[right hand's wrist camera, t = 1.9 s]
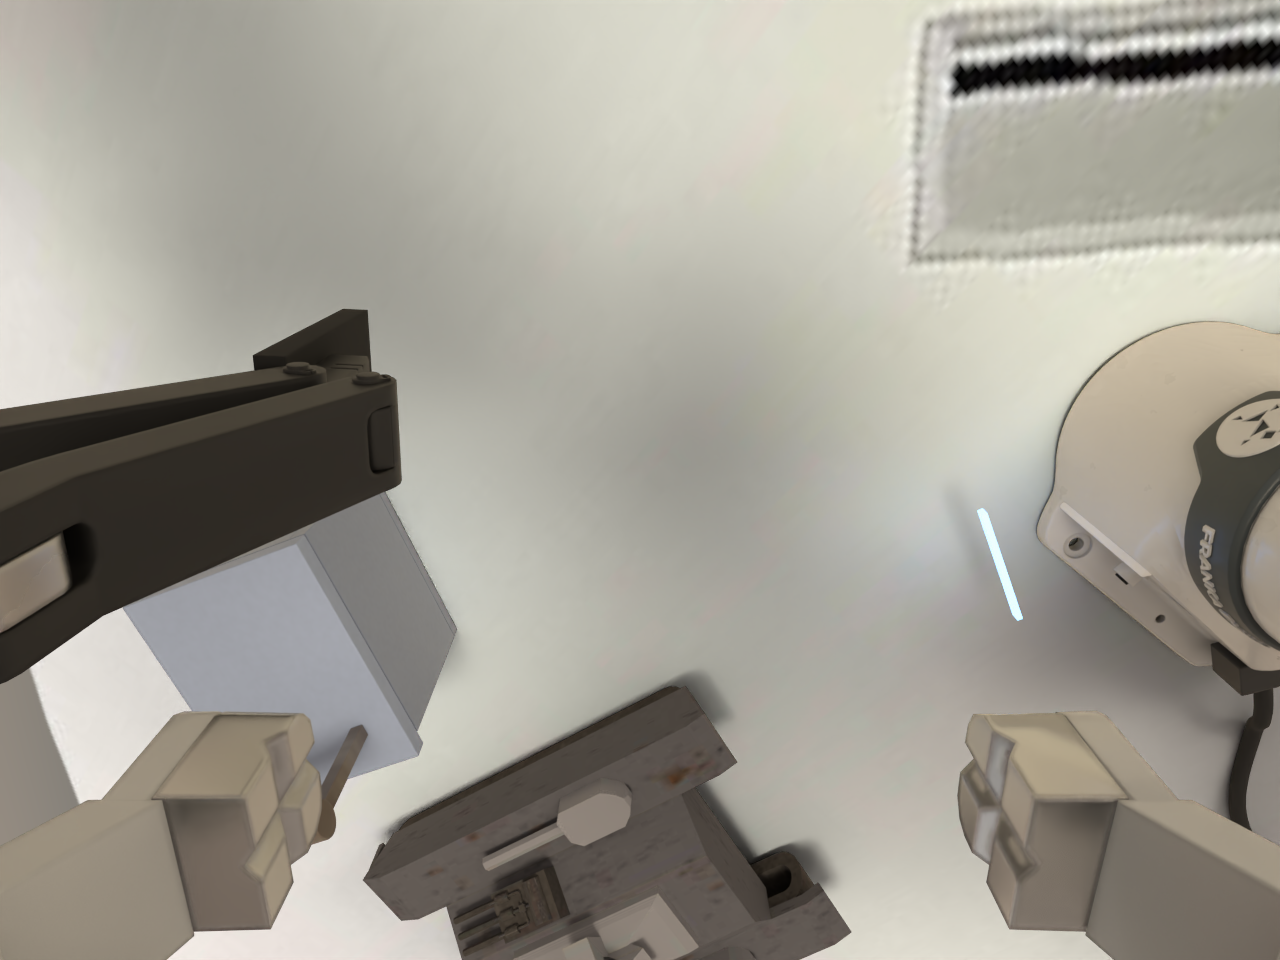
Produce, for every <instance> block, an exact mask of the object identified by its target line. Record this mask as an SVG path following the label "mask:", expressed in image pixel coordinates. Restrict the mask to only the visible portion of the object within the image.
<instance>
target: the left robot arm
mask: <svg viewBox="0 0 1280 960" xmlns="http://www.w3.org/2000/svg"><path fill="white" fill-rule="evenodd" d="M253 362H254V371H249V372H242V373H235V374H229V375H222V376H216V377H209V378H203V379H196V380H190V381H183V382H177V383H170V384H163V385H157V386H150V387H144V388H137V389H131V390H124V391H118V392H111V393H104V394H98V395H91V396H85V397H78V398H72V399H65V400H59V401H52V402H45V403H39V404H32V405H26V406H19V407H13V408H6V409H0V684H1V683H4V682H7V681H9V680H10V679H12V678H14V677H16V676H17V675H19V674H21V673H23V672H24V671H26V670H27V669H28V668H30V667H31V666H33V665H34V664H35V663H37V662H38V661H40V660H41V659H43V658H44V657H45V656H47V655H48V654H50V653H51V652H52V651H54V650H55V649H57V648H58V647H60V646H61V645H62V644H64V643H65V642H67V641H68V640H69V639H71V638H72V637H74V636H75V635H76V634H78V633H79V632H81V631H82V630H84V629H85V628H86V627H88V626H89V625H91V624H92V623H93V622H95V621H96V620H98V619H99V618H101V617H102V616H104V615H106V614H108V613H110V612H113V611H115V610H117V609H120V608H122V607H124V606H126V605H129V604H131V603H133V602H135V601H138V600H140V599H142V598H144V597H147V596H149V595H151V594H154V593H156V592H158V591H160V590H163V589H165V588H167V587H169V586H172V585H174V584H176V583H179V582H181V581H183V580H185V579H188V578H190V577H192V576H194V575H197V574H199V573H201V572H204V571H206V570H208V569H210V568H213V567H215V566H217V565H219V564H222V563H224V562H226V561H229V560H231V559H233V558H235V557H238V556H240V555H242V554H244V553H247V552H249V551H251V550H253V549H256V548H258V547H260V546H263V545H265V544H267V543H269V542H272V541H274V540H276V539H278V538H281V537H283V536H285V535H288V534H290V533H292V532H294V531H297V530H299V529H301V528H303V527H306V526H308V525H310V524H313V523H315V522H317V521H319V520H322V519H324V518H326V517H328V516H331V515H333V514H335V513H338V512H340V511H342V510H344V509H347V508H349V507H351V506H353V505H356V504H358V503H360V502H362V501H365V500H367V499H369V498H372V497H374V496H376V495H378V494H381V493H383V492H385V491H387V490H390V489H392V488H394V487H396V486H398V485H399V484H400V483H401V481H402V476H401V457H400V438H399V420H398V401H397V382H396V379H395V378H393V377H391V376H389V375H380V374H379V373H377V372H371V356H370V340H369V325H368V310H355V309H342V310H340V311H338V312H336V313H334V314H332V315H330V316H328V317H326V318H324V319H322V320H320V321H319V322H317V323H315V324H313V325H311V326H309V327H307V328H305V329H303V330H301V331H299V332H297V333H295V334H293V335H291V336H289V337H287V338H286V339H284V340H282V341H280V342H278V343H276V344H274V345H272V346H270V347H268V348H266V349H264V350H262V351H260V352H258V353H256V354H254V355H253Z"/></svg>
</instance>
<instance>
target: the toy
mask: <svg viewBox="0 0 1280 960" xmlns="http://www.w3.org/2000/svg"><path fill="white" fill-rule="evenodd" d="M736 763H737V761H736V759H735V758H734V756H733V755H732V753H731V752H730V750H729V749H728V747H727V746H726V745H725V743H724V742H723V740H722V739H721V737H720V736H719V734H718V733H717V731H716V730H715V728H714V727H713V725H712V724H711V722H710V721H709V719H708V718H707V716H706V715H705V713H704V712H703V710H702V709H701V707H700V706H699V704H698V703H697V702H696V700H695V699H694V697H693V696H692V695H691V693H690V692H689V690H688V689H687V687H686V686H685V687H683V688H681V689H680V688H678V687H668V688H665V689H663V690H661V691H659V692H657V693H655V694H653V695H651V696H649V697H647V698H645V699H643V700H641V701H639V702H637V703H635V704H633V705H631V706H629V707H627V708H625V709H623V710H622V711H620V712H618V713H616V714H614V715H612V716H610V717H608V718H606V719H604V720H602V721H600V722H598V723H596V724H594V725H592V726H590V727H588V728H586V729H584V730H582V731H580V732H578V733H576V734H575V735H573V736H571V737H569V738H567V739H565V740H563V741H561V742H559V743H557V744H555V745H553V746H551V747H549V748H547V749H545V750H543V751H541V752H539V753H537V754H535V755H533V756H531V757H529V758H527V759H526V760H524V761H522V762H520V763H518V764H516V765H514V766H512V767H510V768H508V769H506V770H504V771H502V772H500V773H498V774H496V775H494V776H492V777H490V778H488V779H486V780H484V781H482V782H480V783H479V784H477V785H475V786H473V787H471V788H469V789H467V790H465V791H463V792H461V793H459V794H457V795H455V796H453V797H451V798H449V799H447V800H445V801H443V802H441V803H439V804H437V805H435V806H433V807H431V808H430V809H428V810H426V811H424V812H422V813H420V814H418V815H416V816H414V817H412V818H410V819H409V820H408V821H406V822H405V823H404V824H403V825H402V827H401V828H400V829H399V831H397V832H395V833H394V834H393V835H392V836H391V838H390V839H389V841H388V842H387V844H386V845H385V844H384V843H382V844H380V845H379V847H378V849H377V852H376V854H375V857H374V859H373V862H372V864H371V866H370V869H369V871H368V873H367V874H366V876H365V877H364V879H363V881H364V882H365V883H366V884H367V885H368V886H369V887H370V888H371V889H372V890H373V891H374V892H375V893H376V895H377V896H378V897H379V898H380V899H381V900H382V901H383V902H384V903H385V904H386V905H387V906H388V907H389V908H390V909H391V910H392V911H393V912H394V913H395V915H396V916H397V917H398V918H399V919H400V920H401V921H403V920H415V919H420V918H422V917H424V916H426V915H429V914H431V913H433V912H435V911H437V910H439V909H441V908H444V907H447V910H448V913H449V917H450V920H451V924H452V927H453V930H454V934H455V937H456V941H457V944H458V947H459V951H460V954H461V958H462V960H800V959H802V958H805V957H807V956H809V955H812V954H814V953H816V952H818V951H821V950H823V949H825V948H828V947H830V946H832V945H835V944H836V943H838V942H839V941H840V940H842V939H843V938H844V937H846V936H847V935H848V934H850V933H851V930H850V929H849V927H848V926H847V924H846V923H845V922H844V920H843V919H842V917H841V916H840V914H839V913H838V911H837V910H836V908H835V907H834V905H833V904H832V902H831V901H830V899H829V898H828V896H827V895H826V893H825V892H824V890H823V889H822V887H821V886H820V884H819V883H817V884H815V885H814V884H813V882H812V881H811V880H810V878H809V877H808V875H807V874H806V872H805V871H804V869H803V868H802V866H801V865H800V863H799V862H798V861H797V859H796V858H795V857H794V856H793V855H792V854H790V853H788V852H779V853H776V854H774V855H771V856H769V857H767V858H765V859H763V860H760V861H758V862H756V863H754V864H752V865H749V863H748V862H747V860H746V859H745V858H744V856H743V855H742V853H741V852H740V851H739V849H738V848H737V846H736V845H735V843H734V842H733V841H732V839H731V838H730V836H729V835H728V834H727V832H726V831H725V829H724V828H723V827H722V825H721V824H720V822H719V821H718V820H717V818H716V817H715V815H714V814H713V813H712V811H711V810H710V808H709V807H708V805H707V804H706V803H705V801H704V800H703V798H702V797H701V796H700V794H699V793H698V791H697V790H696V789H695V787H696V786H698V785H700V784H702V783H704V782H706V781H708V780H711V779H713V778H715V777H717V776H719V775H720V774H722V773H723V772H724V771H726V770H727V769H729V768H730V767H731V766H733V765H734V764H736Z"/></svg>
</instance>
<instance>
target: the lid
mask: <svg viewBox="0 0 1280 960" xmlns="http://www.w3.org/2000/svg"><path fill="white" fill-rule="evenodd" d="M123 609H124V611H125V612H126V614H127V615H128V617H129V618H130V620H131V621H132V623H133V624H134V626H135V627H136V629H137V630H138V632H139V633H140V635H141V636H142V638H143V639H144V640H145V642H146V643H147V645H148V646H149V648H150V649H151V651H152V652H153V654H154V655H155V657H156V658H157V660H158V661H159V663H160V664H161V666H162V667H163V669H164V670H165V672H166V673H167V675H168V676H169V677H170V679H171V680H172V682H173V683H174V685H175V686H176V688H177V689H178V691H179V692H180V694H181V695H182V697H183V698H184V700H185V701H186V703H187V704H188V706H189V707H190V709H191V710H192V711H219V712H225V711H227V712H273V713H304V714H305V715H306V716H307V717H308V718H309V719H310V720H311V725H312V730H313V735H314V740H315V743H314V745H313V747H312V748H311V750H310V752H309V754H308V756H307V758H306V759H307V760H308V761H309V762H310V763H311V764H312V765H313V766H314V767H315V768H316V769H317V770H318V771H319V772H320V778H321V785H322V810H321V815H320V820H319V824H318V829H317V833H316V836H315V838H314V840H313V842H312V844H315V843H319V842H322V841H325V840H328V839H330V838H331V837H332V836H333V834H334V832H335V828H336V817H335V812H334V810H333V808H334V806H335V804H336V802H337V800H338V798H339V796H340V793H341V791H342V789H343V787H344V785H345V783H346V781H347V779H350V778H353V777H356V776H359V775H362V774H365V773H368V772H371V771H374V770H377V769H380V768H383V767H386V766H389V765H392V764H395V763H398V762H402V761H405V760H408V759H411V758H414V757H417V756H418V755H419V753H420V750H421V747H422V745H423V742H422V740H421V738H420V736H419V735H418V733H417V731H416V729H415V728H414V726H413V724H412V722H411V721H410V719H409V717H408V715H407V714H406V712H405V710H404V708H403V707H402V705H401V703H400V701H399V700H398V698H397V696H396V694H395V693H394V691H393V689H392V687H391V686H390V684H389V682H388V680H387V679H386V677H385V675H384V673H383V672H382V670H381V668H380V666H379V665H378V663H377V661H376V659H375V658H374V656H373V654H372V652H371V651H370V649H369V647H368V645H367V644H366V642H365V640H364V638H363V637H362V635H361V633H360V631H359V630H358V628H357V626H356V624H355V623H354V621H353V619H352V617H351V616H350V614H349V612H348V610H347V609H346V607H345V605H344V603H343V602H342V600H341V598H340V596H339V595H338V593H337V591H336V589H335V588H334V586H333V584H332V582H331V581H330V579H329V577H328V575H327V574H326V572H325V570H324V568H323V567H322V565H321V563H320V561H319V560H318V558H317V556H316V554H315V553H314V551H313V549H312V547H311V546H310V544H309V542H308V540H307V539H306V537H305V535H301V536H299V537H296V538H293V539H291V540H288V541H285V542H283V543H280V544H277V545H274V546H272V547H269V548H266V549H264V550H261V551H258V552H256V553H253V554H250V555H247V556H245V557H242V558H239V559H237V560H234V561H231V562H229V563H226V564H223V565H221V566H218V567H215V568H212V569H210V570H207V571H204V572H202V573H199V574H197V575H194V576H192V577H190V578H188V579H185V580H183V581H181V582H179V583H176V584H174V585H172V586H169V587H167V588H165V589H163V590H160V591H158V592H156V593H154V594H151V595H149V596H147V597H144V598H142V599H140V600H138V601H135V602H133V603H131V604H129V605H126V606H124V607H123ZM312 844H311V845H312Z"/></svg>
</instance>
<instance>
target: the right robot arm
mask: <svg viewBox="0 0 1280 960" xmlns="http://www.w3.org/2000/svg"><path fill="white" fill-rule="evenodd" d="M977 511H978V514H979V517H980V520H981V523H982V526H983V529H984V532H985V535H986V538H987V541H988V544H989V547H990V549H991V552H992V555H993V558H994V561H995V564H996V567H997V570H998V573H999V576H1000V579H1001V582H1002V585H1003V588H1004V591H1005V593H1006V596H1007V599H1008V602H1009V605H1010V608H1011V611H1012V614H1013V616H1014V617H1015V618H1016V619H1017V620H1021V619H1023V618H1022V615H1021V612H1020V609H1019V606H1018V603H1017V600H1016V597H1015V594H1014V591H1013V588H1012V585H1011V582H1010V579H1009V576H1008V573H1007V570H1006V567H1005V564H1004V561H1003V558H1002V555H1001V552H1000V549H999V546H998V543H997V540H996V537H995V534H994V531H993V529H992V526H991V523H990V520H989V517H988V514H987V512H986V511H985V510H984V509H983V508H982V509H980V510H977ZM1037 536H1038V538H1039V540H1040V541H1041V542H1042V544H1044V545H1045V546H1046V547H1047V548H1048V549H1050V550H1051V551H1052V552H1053V553H1054V554H1056V555H1057V556H1058V557H1059V558H1061V559H1062V560H1063V561H1064V562H1065V563H1067V564H1068V565H1069V566H1070V567H1072V568H1073V569H1074V570H1075V571H1076V572H1078V573H1079V574H1080V575H1081V576H1082V577H1084V578H1085V579H1086V580H1087V581H1089V582H1090V583H1091V584H1092V585H1093V586H1095V587H1096V588H1097V589H1098V590H1100V591H1101V592H1102V593H1103V594H1104V595H1106V596H1107V597H1108V598H1109V599H1110V600H1112V601H1113V602H1114V603H1115V604H1117V605H1118V606H1119V607H1120V608H1121V609H1123V610H1124V611H1125V612H1126V613H1128V614H1129V615H1130V616H1131V617H1132V618H1134V619H1135V620H1136V621H1137V622H1138V623H1140V624H1141V625H1142V626H1143V627H1145V628H1146V629H1147V630H1148V631H1149V632H1151V633H1152V634H1153V635H1154V636H1156V637H1157V638H1158V639H1159V640H1160V641H1162V642H1163V643H1164V644H1165V645H1166V646H1168V647H1169V648H1170V649H1171V650H1173V651H1174V652H1175V653H1176V654H1178V655H1179V656H1180V657H1182V658H1183V659H1185V660H1186V661H1187V662H1189V663H1190V664H1192V665H1195V666H1210V665H1212V666H1213V670H1214V671H1215V672H1216V673H1217V674H1218V675H1219V676H1220V677H1221V678H1222V679H1224V680H1225V681H1226V682H1227V683H1228V684H1229V685H1230V686H1231V687H1233V688H1234V689H1235V690H1236V691H1237V692H1238V693H1239V694H1240V695H1242V696H1244V695H1248V694H1252V693H1253V694H1254V712H1253V716H1252V717H1250V718H1249V719H1248V720H1247V723H1246V726H1245V729H1244V733H1243V736H1242V739H1241V742H1240V746H1239V749H1238V752H1237V756H1236V759H1235V763H1234V767H1233V771H1232V776H1231V782H1230V789H1229V811H1230V817H1231V820H1229V819H1227V818H1225V817H1223V816H1221V815H1219V814H1218V813H1216V812H1214V811H1212V810H1210V809H1208V808H1206V807H1204V806H1202V805H1200V804H1198V803H1197V802H1195V801H1193V800H1178V799H1177V797H1176V796H1175V795H1174V794H1173V793H1172V792H1171V790H1170V789H1169V788H1168V787H1167V786H1166V785H1165V783H1164V782H1163V781H1162V780H1161V779H1160V778H1159V776H1158V775H1157V774H1156V773H1155V772H1154V770H1153V769H1152V768H1151V767H1150V766H1149V765H1148V763H1147V762H1146V761H1145V760H1144V759H1143V758H1142V756H1141V755H1140V754H1139V753H1138V752H1137V751H1136V749H1135V748H1134V747H1133V746H1132V745H1131V743H1130V742H1129V741H1128V740H1127V739H1126V738H1125V736H1124V735H1123V734H1122V733H1121V732H1120V731H1119V729H1118V728H1117V727H1116V726H1115V725H1114V724H1113V722H1112V721H1111V720H1110V719H1109V718H1108V716H1106V715H1104V714H1102V713H1100V712H1098V711H1074V712H1056V713H1028V714H973V716H972V718H971V720H970V722H969V724H968V728H967V734H966V740H965V743H966V745H967V747H968V748H969V750H970V752H971V754H972V756H973V758H974V759H973V760H972V761H971V762H970V763H969V764H968V765H967V766H966V767H965V768H964V769H963V770H962V771H961V772H960V779H959V787H958V806H959V817H960V822H961V825H962V829H963V832H964V836H965V838H966V840H967V842H968V845H969V847H970V849H971V851H972V853H974V854H975V855H976V856H978V857H979V858H980V859H982V860H983V861H985V862H986V863H987V864H989V870H988V876H987V884H988V886H989V889H990V891H991V893H992V895H993V897H994V899H995V901H996V903H997V905H998V907H999V909H1000V911H1001V913H1002V915H1003V917H1004V919H1005V921H1006V923H1007V925H1008V927H1009V929H1015V930H1050V931H1085V932H1086V936H1087V937H1088V938H1089V939H1090V940H1092V941H1093V942H1094V943H1095V944H1096V945H1097V946H1099V947H1100V948H1101V949H1102V950H1103V951H1104V952H1106V953H1107V954H1108V955H1109V956H1110V957H1111V958H1112V959H1114V960H1280V846H1279V845H1277V844H1275V843H1273V842H1271V841H1269V840H1267V839H1265V838H1263V837H1261V836H1259V835H1258V834H1256V833H1254V832H1252V830H1251V828H1250V825H1249V822H1248V818H1247V813H1246V791H1247V784H1248V779H1249V775H1250V771H1251V767H1252V764H1253V761H1254V757H1255V754H1256V751H1257V748H1258V745H1259V742H1260V739H1261V736H1262V733H1263V730H1264V729H1266V728H1268V727H1269V726H1270V723H1271V719H1272V714H1273V688H1276V687H1280V334H1271V333H1266V332H1261V331H1258V330H1255V329H1252V328H1249V327H1245V326H1242V325H1238V324H1233V323H1226V322H1196V323H1189V324H1183V325H1179V326H1174V327H1171V328H1168V329H1165V330H1162V331H1159V332H1157V333H1154V334H1152V335H1150V336H1147V337H1145V338H1143V339H1141V340H1139V341H1138V342H1136V343H1134V344H1132V345H1131V346H1129V347H1128V348H1126V349H1125V350H1123V351H1122V352H1120V353H1119V354H1118V355H1116V356H1115V357H1114V358H1112V359H1111V360H1110V361H1109V362H1108V363H1107V364H1105V365H1104V366H1103V367H1102V368H1101V369H1100V370H1099V371H1098V372H1097V373H1096V374H1095V375H1094V376H1093V378H1092V379H1091V380H1090V381H1089V382H1088V383H1087V385H1086V386H1085V387H1084V389H1083V390H1082V391H1081V393H1080V394H1079V396H1078V397H1077V399H1076V401H1075V402H1074V404H1073V406H1072V408H1071V409H1070V411H1069V413H1068V416H1067V418H1066V420H1065V423H1064V425H1063V428H1062V431H1061V435H1060V438H1059V442H1058V448H1057V455H1056V472H1055V483H1054V488H1053V492H1052V494H1051V496H1050V498H1049V500H1048V502H1047V504H1046V506H1045V508H1044V510H1043V512H1042V515H1041V517H1040V520H1039V523H1038V527H1037ZM1074 538H1078V540H1077V542H1076V543H1075V544H1074V545H1072V546H1069V543H1070V541H1071V540H1072V539H1074ZM314 743H315V740H314V735H313V730H312V725H311V720H310V719H309V718H308V717H307V716H306V715H305V714H304V713H273V712H227V711H225V712H219V711H184V712H181V713H179V714H176V715H173V717H172V718H171V719H170V720H169V721H168V722H167V723H166V725H165V726H164V727H163V728H162V729H161V730H160V732H159V733H158V734H157V735H156V736H155V737H154V739H153V740H152V741H151V742H150V743H149V745H148V746H147V747H146V748H145V749H144V750H143V752H142V753H141V754H140V755H139V756H138V757H137V759H136V760H135V761H134V762H133V763H132V765H131V766H130V767H129V768H128V769H127V770H126V772H125V773H124V774H123V775H122V776H121V777H120V779H119V780H118V781H117V782H116V783H115V784H114V786H113V787H112V788H111V789H110V790H109V792H108V793H107V794H106V795H105V796H104V797H103V799H102V800H87V801H85V802H83V803H82V804H80V805H78V806H76V807H74V808H72V809H70V810H68V811H66V812H64V813H62V814H61V815H59V816H57V817H55V818H53V819H51V820H49V821H47V822H45V823H43V824H41V825H39V826H38V827H36V828H34V829H32V830H30V831H28V832H26V833H24V834H22V835H20V836H18V837H16V838H15V839H13V840H11V841H9V842H7V843H5V844H3V845H1V846H0V960H167V959H168V958H169V957H170V956H171V955H173V954H174V953H175V952H176V951H177V950H178V949H179V948H181V947H182V946H183V945H184V944H185V943H186V942H188V941H189V940H190V939H191V938H192V937H193V936H194V932H195V931H229V930H263V929H271V928H272V925H273V923H274V921H275V919H276V917H277V915H278V913H279V911H280V909H281V907H282V905H283V903H284V901H285V899H286V897H287V895H288V893H289V891H290V889H291V886H292V884H293V876H292V870H291V864H293V863H294V862H295V861H297V860H298V859H300V858H301V857H302V856H304V855H305V854H306V853H308V851H309V849H310V847H311V844H312V842H313V840H314V838H315V836H316V833H317V829H318V824H319V820H320V815H321V810H322V785H321V778H320V772H319V771H318V770H317V769H316V768H315V767H314V766H313V765H312V764H311V763H310V762H309V761H308V760H307V759H306V758H307V756H308V754H309V752H310V750H311V748H312V747H313V745H314Z"/></svg>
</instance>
